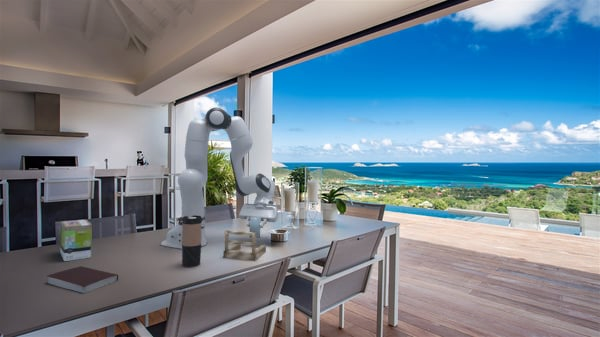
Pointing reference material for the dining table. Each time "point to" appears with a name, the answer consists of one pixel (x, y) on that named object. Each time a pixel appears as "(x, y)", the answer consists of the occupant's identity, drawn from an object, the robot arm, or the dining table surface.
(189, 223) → the travel mug
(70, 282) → the book
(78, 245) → the tea box
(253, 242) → the rack
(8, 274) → the dining table surface
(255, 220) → the grey upright block
